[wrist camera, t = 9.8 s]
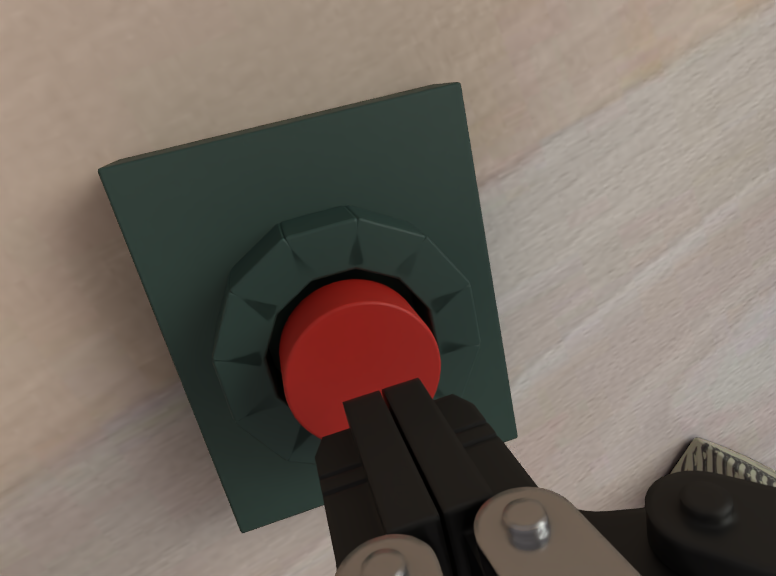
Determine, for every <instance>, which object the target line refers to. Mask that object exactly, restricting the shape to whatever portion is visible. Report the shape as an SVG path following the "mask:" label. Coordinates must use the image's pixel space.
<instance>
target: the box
mask: <svg viewBox="0 0 776 576" xmlns="http://www.w3.org/2000/svg"><path fill="white" fill-rule="evenodd" d="M694 470H697V471H708V472H713V473H718V474H723V475H727V476H731V477H735V478H740V479H744V480H748V481H752V482H757V483H761V484H765V485H769V486H774V487H776V471H774V470H773V469H771V468H769V467H767V466H764V465H762V464H760V463H758V462H756V461H754V460H752V459H750V458H748V457H746V456H743V455H741V454H739V453H736V452H734V451H732V450H730V449H727V448H725V447H722V446H719V445H717V444H714V443H711V442H709V441H706V440H704V439H701V438H695V439H694V440H693V441H692V442H691V444H690V445H689V447H688V448H687V450H686V451H685V453H684V454H683V456H682V457H681V459H680V460H679V462H678V463H677V465H676V466H675V467H674V469H673V470H672V472H671V474H672V473H675V472H681V471H694Z"/></svg>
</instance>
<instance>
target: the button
mask: <svg viewBox="0 0 776 576" xmlns="http://www.w3.org/2000/svg"><path fill="white" fill-rule="evenodd" d="M279 357H280V366H281V373H282V380H283V387H284V393H285V397H286V401H287V403H288V406H289V408H290V410H291V412H292V413H293V415H294V417H295V418H296V419H297V421H298V422H299V423H300V424H301V425H302V426H303V427H304V428H305V429H306V430H307V431H309V432H310V433H312V434H313V435H315V436H316V437H318V438H320V439H322V437H324V436H327V435H330V434H333V433H336V432H339V431H342V430H345V429H348V428H349V425H348V421H347V418H346V414H345V411H344V407H343V403H342V402H344V401H347V400H350V399H353V398H356V397H359V396H363V395H366V394H369V393H372V392H375V391H378V390H379V391H380V393H381V395H382V389H384V388H387V387H390V386H393V385H396V384H399V383H402V382H406V381H409V380H412V379H415V378H419V379H420V380H421V382H422V383H423V385H424V386H425V388H426V389H427V391H428V393H429V394H430V396H431V397H432V399H433V397H434V395H435V392H436V390H437V387H438V383H439V378H440V371H441V360H440V352H439V349H438V345H437V342H436V340H435V338H434V336H433V334H432V332H431V331H430V329H429V328H428V326H427V325H426V324H425V323H424V321H423V320H422V319H421V318H420V317H419V315H418V314H417V313H416V312H415V311H414V309H413V308H412V307H411V306H410V304H409V303H408V302H407V301H406V300H405V299H404V298H403V297H402V296H401V295H400V294H399V293H398V292H396V291H395V290H393V289H391V288H390V287H388V286H386V285H383V284H381V283H378V282H375V281H370V280H364V279H349V280H342V281H337V282H333V283H330V284H328V285H325V286H323V287H321V288H319V289H317V290H315V291H314V292H312V293H311V294H309V295H308V296H307V297H306V298H304V299H303V300H302V301H301V302H300V303H299V304H298V305H297V306H296V308H295V309H294V310H293V311H292V313H291V314H290V316H289V317H288V319H287V321H286V323H285V325H284V328H283V331H282V334H281V338H280V344H279ZM382 397H383V396H382Z"/></svg>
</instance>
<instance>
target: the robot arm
mask: <svg viewBox="0 0 776 576" xmlns="http://www.w3.org/2000/svg"><path fill="white" fill-rule="evenodd" d="M382 396H383V397H382ZM342 403H343V407H344V411H345V414H346V418H347V421H348V425H349V428H348V429H345V430H342V431H339V432H336V433H333V434H330V435H327V436H324V437H322V440H321V442H320V445H319V447H318V450H317V452H316V455H315V461H316V466H317V471H318V476H319V480H320V486H321V491H322V495H323V501H324V506H325V511H326V516H327V521H328V526H329V530H330V535H331V540H332V545H333V550H334V555H335V560H336V568H337V571H336V574H335V576H776V487H774V486H769V485H765V484H761V483H757V482H752V481H748V480H744V479H740V478H735V477H731V476H727V475H723V474H718V473H713V472H708V471H697V470H694V471H681V472H675V473H672V474H668V475H666V476H664V477H661V478H660V479H658V480H657V481H655V482H654V483H653V484H652V485H651V486H650V488H649V489H648V491H647V493H646V497H645V508H637V509H626V510H615V511H600V512H594V511H584V510H578V509H577V508H576V507H575V506H574V505H573V504H572V503H571V502H569V501H568V500H567V499H566V498H564V497H563V496H561V495H560V494H558V493H555V492H553V491H550V490H547V489H543V488H538V486H537V485H536V484H535V482H534V481H533V480H532V479H531V477H530V476H529V475H528V473H527V472H526V471H525V470H524V468H523V467H522V466H521V464H520V463H519V462H518V460H517V459H516V458H515V457H514V455H513V454H512V453H511V451H510V450H509V449H508V448H507V446H506V445H505V444H504V442H503V441H502V440H501V439H500V437H499V436H498V437H497V434H496V432H495V431H494V429H493V428H492V427H491V426H490V424H489V423H487V422H486V419H485V418H484V417H483V415H482V414H481V413H480V411H479V410H478V409H477V407H476V406H475V405H474V404H473V403H471V402H469V401H467V400H465V399H463V398H461V397H459V396H457V395H454V394H451V395H448V396H445V397H442V398H439V399H436V400H433V399H432V397H431V396H430V394H429V393H428V391H427V389H426V388H425V386H424V385H423V383H422V382H421V380H420V379H419V378H415V379H412V380H409V381H406V382H402V383H399V384H396V385H393V386H390V387H387V388H384V389H382V395H381V393H380V391H379V390H378V391H375V392H372V393H369V394H366V395H363V396H359V397H356V398H353V399H350V400H347V401H344V402H342Z"/></svg>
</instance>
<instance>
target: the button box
mask: <svg viewBox="0 0 776 576" xmlns="http://www.w3.org/2000/svg"><path fill="white" fill-rule="evenodd" d="M98 174H99V176H100V179H101V181H102V184H103V186H104V189H105V191H106V194H107V196H108V199H109V201H110V204H111V206H112V209H113V211H114V214H115V216H116V219H117V221H118V224H119V227H120V229H121V232H122V234H123V237H124V239H125V242H126V244H127V247H128V249H129V252H130V254H131V257H132V259H133V262H134V264H135V267H136V269H137V272H138V274H139V277H140V279H141V282H142V284H143V287H144V289H145V292H146V294H147V297H148V300H149V302H150V305H151V307H152V310H153V312H154V315H155V317H156V320H157V322H158V325H159V327H160V330H161V332H162V335H163V337H164V340H165V342H166V345H167V347H168V350H169V352H170V355H171V357H172V360H173V362H174V365H175V367H176V370H177V373H178V375H179V378H180V380H181V383H182V385H183V388H184V390H185V393H186V395H187V398H188V400H189V403H190V405H191V408H192V410H193V413H194V415H195V418H196V420H197V423H198V425H199V428H200V430H201V433H202V435H203V438H204V441H205V443H206V446H207V448H208V451H209V453H210V456H211V458H212V461H213V463H214V466H215V468H216V471H217V473H218V476H219V478H220V481H221V483H222V486H223V488H224V491H225V493H226V496H227V498H228V501H229V503H230V506H231V508H232V511H233V514H234V516H235V519H236V521H237V524H238V526H239V529H240V531H241V532H242V533H245V532H248V531H251V530H254V529H257V528H259V527H262V526H265V525H268V524H271V523H274V522H277V521H280V520H282V519H285V518H288V517H291V516H294V515H297V514H300V513H303V512H305V511H308V510H311V509H314V508H317V507H320V506H323V505H324V501H323V495H322V491H321V486H320V480H319V476H318V471H317V466H316V461H315V455H316V452H317V450H318V447H319V445H320V442H321V440H322V439H320V438H318V437H316V436H315V435H313V434H312V433H310V432H309V431H307V430H306V429H305V428H304V427H303V426H302V425H301V424H300V423H299V422H298V421H297V419H296V418H295V417H294V415H293V413H292V412H291V410H290V408H289V406H288V403H287V401H286V397H285V393H284V387H283V380H282V373H281V366H280V357H279V344H280V338H281V334H282V331H283V328H284V325H285V323H286V321H287V319H288V317H289V316H290V314H291V313H292V311H293V310H294V309H295V308H296V306H297V305H298V304H299V303H300V302H301V301H302V300H303V299H304V298H306V297H307V296H308V295H309V294H311V293H312V292H314V291H315V290H317V289H319V288H321V287H323V286H325V285H328V284H330V283H333V282H337V281H342V280H349V279H364V280H370V281H375V282H378V283H381V284H383V285H386V286H388V287H390V288H391V289H393V290H395V291H396V292H398V293H399V294H400V295H401V296H402V297H403V298H404V299H405V300H406V301H407V302H408V303H409V304H410V306H411V307H412V308H413V309H414V311H415V312H416V313H417V314H418V315H419V317H420V318H421V319H422V320H423V321H424V323H425V324H426V325H427V326H428V328H429V329H430V331H431V332H432V334H433V336H434V338H435V340H436V342H437V345H438V349H439V352H440V360H441V371H440V378H439V383H438V387H437V390H436V392H435V395H434V397H433V400H436V399H439V398H442V397H445V396H448V395H451V394H454V395H457V396H459V397H461V398H463V399H465V400H467V401H469V402H471V403H473V404H474V405H475V406H476V407H477V409H478V410H479V411H480V413H481V414H482V415H483V417H484V418H485V419H486V422H487V423H489V424H490V426H491V427H492V428H493V429H494V431H495V432H496V434H497V437H498V436H499V437H500V439H501V440H502V441H503V442H507V441H509V440H512V439H515V438H517V430H516V423H515V417H514V411H513V405H512V399H511V392H510V386H509V380H508V374H507V368H506V361H505V355H504V349H503V343H502V337H501V331H500V324H499V318H498V312H497V306H496V300H495V293H494V287H493V281H492V275H491V269H490V262H489V256H488V250H487V244H486V238H485V231H484V225H483V219H482V213H481V207H480V200H479V194H478V188H477V182H476V176H475V170H474V163H473V157H472V151H471V145H470V139H469V132H468V126H467V120H466V114H465V108H464V101H463V95H462V89H461V84H460V83H459V82H453V83H443V84H433V85H429V86H424V87H420V88H416V89H412V90H408V91H404V92H399V93H395V94H391V95H387V96H383V97H379V98H374V99H370V100H366V101H362V102H358V103H354V104H349V105H345V106H341V107H337V108H333V109H329V110H324V111H320V112H316V113H312V114H308V115H304V116H299V117H295V118H291V119H287V120H283V121H279V122H274V123H270V124H266V125H262V126H258V127H254V128H249V129H245V130H241V131H237V132H233V133H229V134H224V135H220V136H216V137H212V138H208V139H204V140H199V141H195V142H191V143H187V144H183V145H179V146H174V147H170V148H166V149H162V150H158V151H153V152H149V153H145V154H141V155H137V156H133V157H128V158H124V159H120V160H117V161H115V162H113V163H110V164H108V165H106V166H104V167H102V168H100V169H98Z"/></svg>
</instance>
